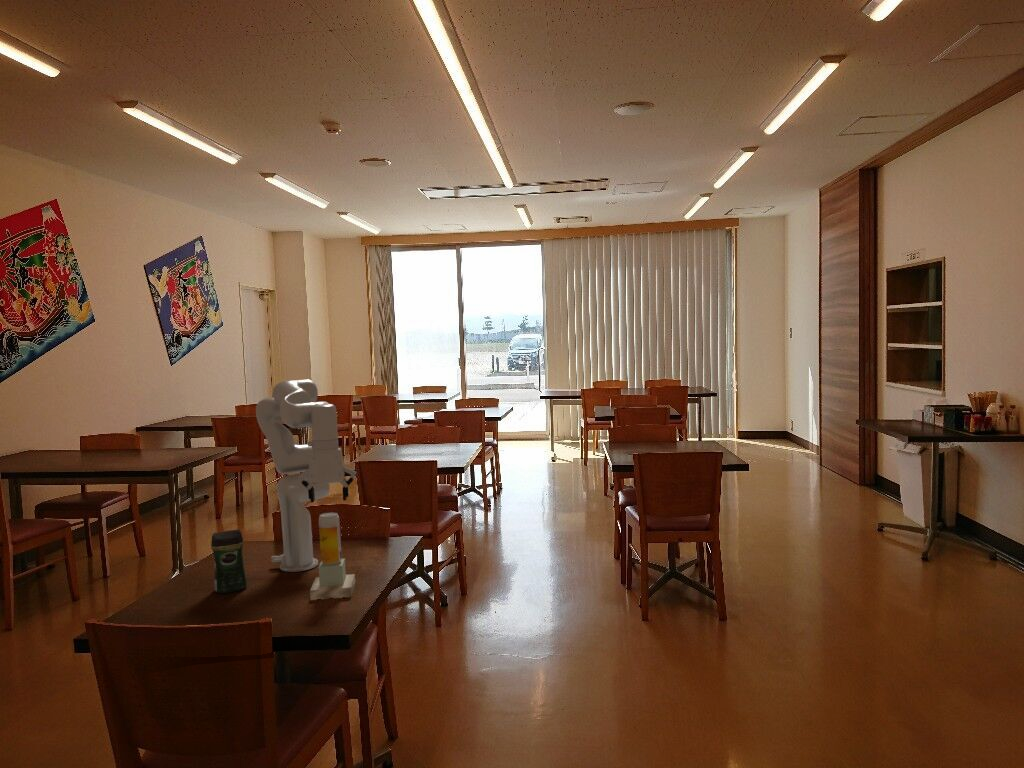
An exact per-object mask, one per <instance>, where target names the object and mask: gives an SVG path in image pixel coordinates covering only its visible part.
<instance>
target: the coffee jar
mask: <svg viewBox="0 0 1024 768" xmlns="http://www.w3.org/2000/svg"><path fill="white" fill-rule="evenodd" d="M244 542H245V541H244V538H243V534H242V531H241V530H240V529H233V530H232V529H231V530H224V531H218V532H213V533H212V535H211V542H210V543H211V544H210V549H211V551H212V553H213V558H214V577H213V578H214V582H213V583H214V584H213V585H214V591H215V592H216V593H219V594H224V593H225V594H226V593H232V592H236V591H237V592H238V591H241V590H244V589H245V588H246V587H247V585H248V579H247V574H246V570H245V569H246V568H245V565H244V564H245V563H244V556H243V548H244V544H245V543H244Z"/></svg>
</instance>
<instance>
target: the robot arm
mask: <svg viewBox="0 0 1024 768" xmlns="http://www.w3.org/2000/svg"><path fill="white" fill-rule="evenodd" d="M317 387H318V386H317V384H316V383H315V382H314V381H313V380H311V379H307V378H306V379H303V378H302V379H294V380H293V379H291V380H283V381H280V382H278V383H277V384H275V385H274V387H273V389H272V396H271V397H266V398H264V399H263V398H262V399H261V400H259V401H258V402H257V404H256V406H255V416H256V421H257V423H258V426H259V428H260V430H261V432H262V433H263V435H264V436H265V438H266V440H267V442H268V447H269V451H270V454H271V457H272V461H273V464H274V469H275V470H276V471H277V473H279V474H280V475H286V476H284V477H281V478H280V479H279V480H278V481H277V484H276V487H275V488H276V494H277V498H278V503H279V508H280V517H281V520H280V521H281V530H282V544H283V545H282V548H283V554H280V555H271V557H270V561H271V562H272V563H273V564H279V563H280V564H279V569H280V570H281V571H282V572H286V573H287V572H289V573H297V572H298V573H299V572H303V571H304V572H305V571H309V570H311V569H314V568H316V567H318V565H319V560H318V559H317V558H315V557H314V548H313V534H312V519H311V518H312V517H311V513H310V511H309V509H308V508H307V507H306V506H304V505H303V503H304V502H305V503H306V502H308V501H310V503H314V502H315V501H316V500H320V499H324V498H326V497H327V496H328V495H329V493H330V490H331V486H330V484H334V483H340V484H341V485H342V500H343V501H344V502H345V501H346V500H347V499H348V498H349V486H350V485H351V484H352V482H353V481H354V480H355V477H356V475H357V471H355V470H354V469H351V468H349V467H347V466H345V464H344V463H345V462H344V457H343V451H342V449H341V447H339V434H338V433H339V432H338V415H337V407H336V405H334V404H333V403H329V402H328V401H317V400H318V394H319V393H318V388H317ZM281 421H282V422H283V423H284V424H285V425H286V426H288V427H289V428H291V429H303V428H310V427H311V435H312V438H311V439H312V440H311V441H308V442H307V443H305V444H296V442H295V439H294V435H293V433H292V432H291V430H290V429H288V428H287V427H286V426H285V425H284V424H282V423H281ZM345 474H349V475H350V477H349V478H348V479H347V478H345V477H346V475H345Z"/></svg>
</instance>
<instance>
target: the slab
mask: <svg viewBox="0 0 1024 768" xmlns="http://www.w3.org/2000/svg"><path fill="white" fill-rule="evenodd" d="M355 587H356V574H355V573H352V574H346V579H345V582H344V585H337V586H325V587H320V583H319V576H316V577H315V578H314V581H313V583H312V585H311V587H310V589H309V595H310V596H309V598H310V601H317V599H321V600H330V599H329V598H333V599H343V597H345V598H352V597H353V593H354V590H355Z"/></svg>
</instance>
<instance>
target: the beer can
mask: <svg viewBox="0 0 1024 768" xmlns="http://www.w3.org/2000/svg"><path fill="white" fill-rule="evenodd" d="M340 526H341V525H340V517H339V514H338V512H324V513H321V514H319V517H318V530H319V546H320V547H319V548H320V563H321V562H322V563H323V564H324V565H336V564H338V563H340V561H341V560H342V559H343V558H342V544H341V543H342V542H341V527H340Z"/></svg>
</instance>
